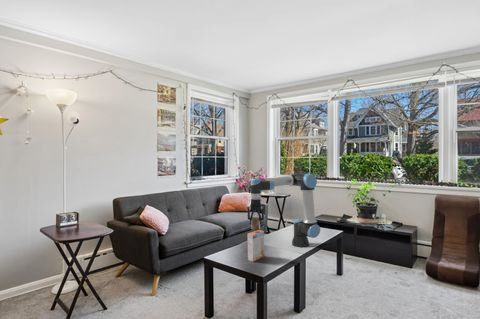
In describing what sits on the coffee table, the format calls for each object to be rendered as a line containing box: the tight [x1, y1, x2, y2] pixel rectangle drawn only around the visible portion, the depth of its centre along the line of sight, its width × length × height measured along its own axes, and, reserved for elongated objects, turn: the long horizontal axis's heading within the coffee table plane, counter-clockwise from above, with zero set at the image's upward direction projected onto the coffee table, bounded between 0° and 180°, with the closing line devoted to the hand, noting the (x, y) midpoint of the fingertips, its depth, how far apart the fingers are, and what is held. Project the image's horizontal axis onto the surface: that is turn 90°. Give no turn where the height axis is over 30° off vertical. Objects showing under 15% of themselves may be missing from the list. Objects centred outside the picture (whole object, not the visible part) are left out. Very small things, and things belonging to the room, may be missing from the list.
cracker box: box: [247, 229, 265, 263], centre depth 227 cm, size 14×6×21 cm, turn 138°
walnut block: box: [251, 216, 260, 231], centre depth 227 cm, size 5×5×9 cm
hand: (255, 228), depth 227 cm, fingers closed on walnut block, 5 cm apart
